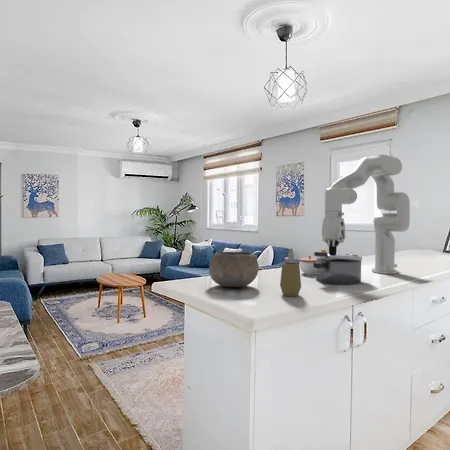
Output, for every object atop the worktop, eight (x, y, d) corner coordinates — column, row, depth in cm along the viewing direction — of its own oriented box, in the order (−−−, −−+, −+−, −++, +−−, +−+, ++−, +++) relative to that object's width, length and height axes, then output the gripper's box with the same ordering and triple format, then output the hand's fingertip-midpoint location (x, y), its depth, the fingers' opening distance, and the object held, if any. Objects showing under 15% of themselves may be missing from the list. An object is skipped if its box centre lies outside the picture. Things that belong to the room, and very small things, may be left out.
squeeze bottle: (277, 293, 142) (277, 247, 141) (297, 292, 142) (298, 247, 142) (282, 297, 134) (283, 249, 133) (303, 297, 134) (304, 249, 134)
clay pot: (202, 284, 159) (202, 250, 158) (244, 281, 167) (244, 248, 166) (220, 294, 139) (220, 255, 139) (267, 289, 148) (267, 253, 147)
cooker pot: (333, 275, 182) (333, 256, 181) (369, 281, 166) (370, 260, 165) (298, 281, 166) (298, 259, 166) (335, 288, 150) (335, 264, 150)
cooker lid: (334, 255, 182) (334, 249, 182) (372, 260, 166) (372, 253, 166) (298, 255, 166) (298, 248, 166) (336, 260, 150) (336, 252, 150)
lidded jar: (320, 275, 181) (321, 257, 181) (299, 275, 183) (299, 256, 183) (319, 272, 192) (319, 255, 191) (299, 271, 194) (299, 254, 194)
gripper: (352, 215, 161) (351, 256, 161) (324, 215, 172) (324, 253, 173) (342, 215, 156) (341, 257, 157) (314, 214, 168) (314, 254, 168)
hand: (332, 254), depth 165 cm, fingers closed
